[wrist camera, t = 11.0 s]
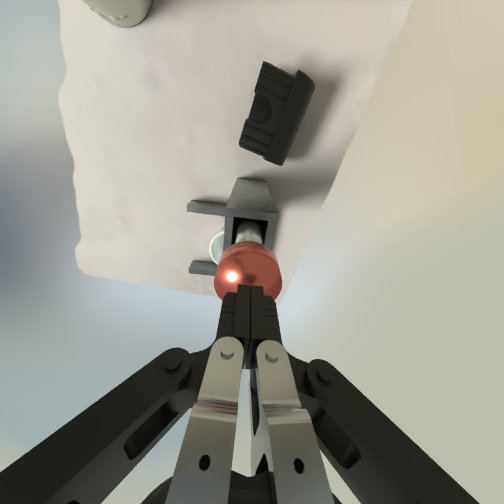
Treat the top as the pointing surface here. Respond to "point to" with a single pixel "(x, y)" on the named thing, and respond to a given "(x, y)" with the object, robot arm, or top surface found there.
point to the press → (239, 216)
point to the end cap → (276, 112)
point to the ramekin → (217, 246)
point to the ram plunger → (248, 263)
